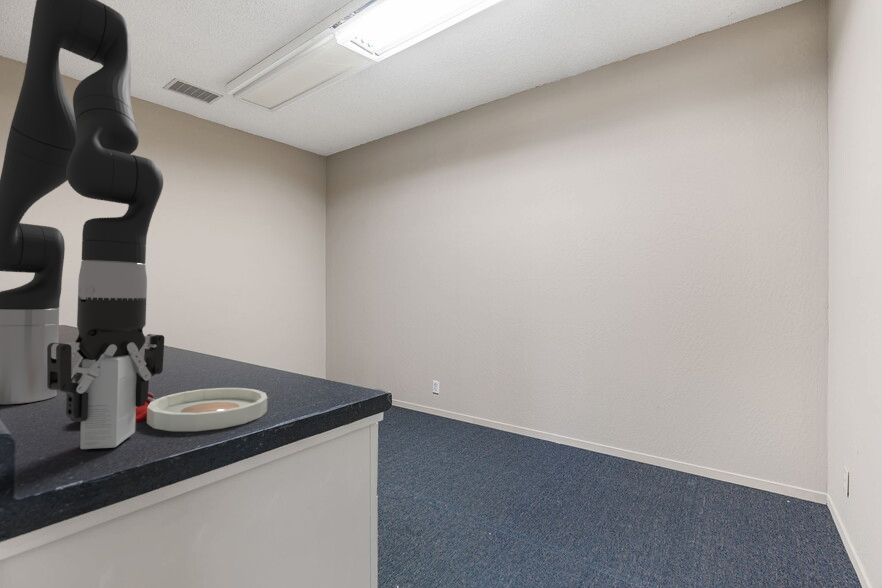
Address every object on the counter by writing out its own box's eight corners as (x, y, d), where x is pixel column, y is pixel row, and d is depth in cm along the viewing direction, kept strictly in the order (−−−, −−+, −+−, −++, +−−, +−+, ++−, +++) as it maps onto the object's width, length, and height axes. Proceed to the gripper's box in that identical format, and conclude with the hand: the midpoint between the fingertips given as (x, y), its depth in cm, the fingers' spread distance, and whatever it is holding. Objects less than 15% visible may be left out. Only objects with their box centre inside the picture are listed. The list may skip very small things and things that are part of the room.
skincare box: (101, 434, 60) (104, 352, 60) (135, 433, 62) (138, 352, 62) (77, 450, 55) (80, 359, 55) (115, 448, 56) (118, 359, 56)
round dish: (120, 422, 67) (121, 406, 67) (212, 397, 84) (213, 384, 84) (207, 437, 62) (208, 420, 62) (287, 407, 79) (287, 393, 79)
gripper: (144, 294, 66) (141, 398, 66) (32, 293, 52) (28, 424, 52) (180, 296, 64) (176, 403, 64) (72, 295, 50) (68, 432, 50)
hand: (109, 412), depth 58 cm, fingers closed on skincare box, 7 cm apart
